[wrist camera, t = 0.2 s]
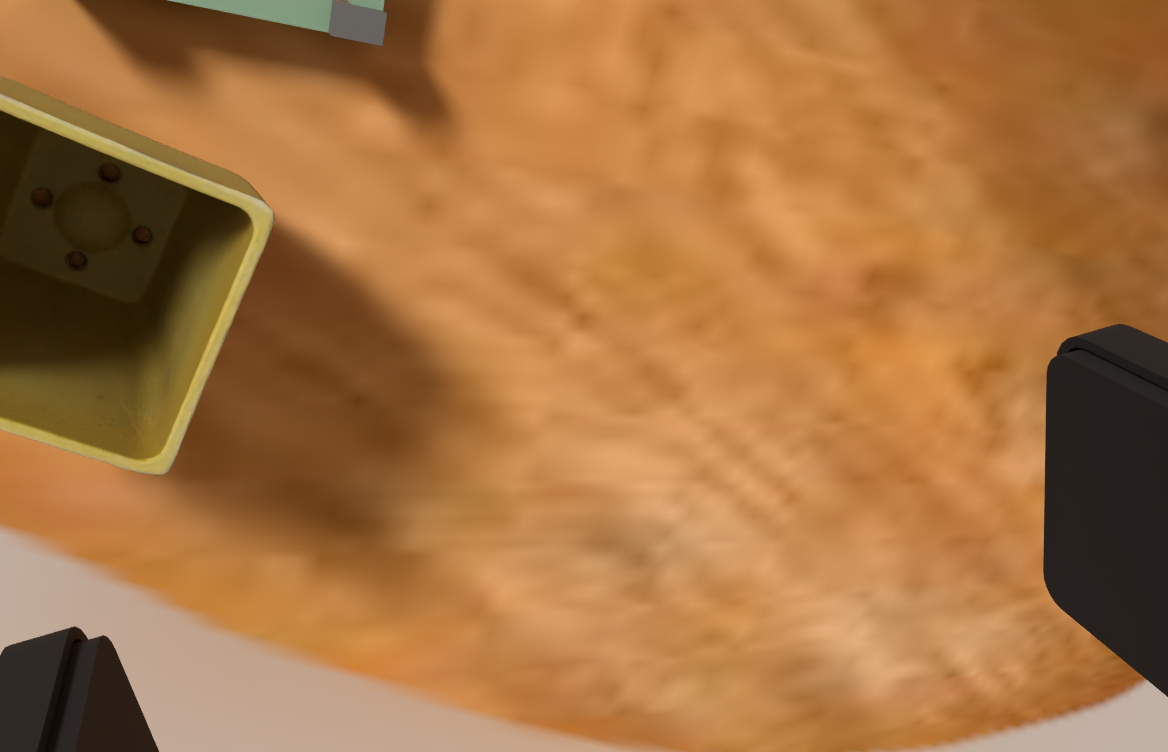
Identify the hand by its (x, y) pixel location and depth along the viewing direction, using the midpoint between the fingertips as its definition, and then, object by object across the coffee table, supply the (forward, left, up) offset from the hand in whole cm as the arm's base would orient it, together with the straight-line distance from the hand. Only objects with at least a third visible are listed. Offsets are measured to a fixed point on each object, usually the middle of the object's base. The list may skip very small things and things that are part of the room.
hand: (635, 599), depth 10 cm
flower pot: (+2, -9, -31) cm, 32 cm away
